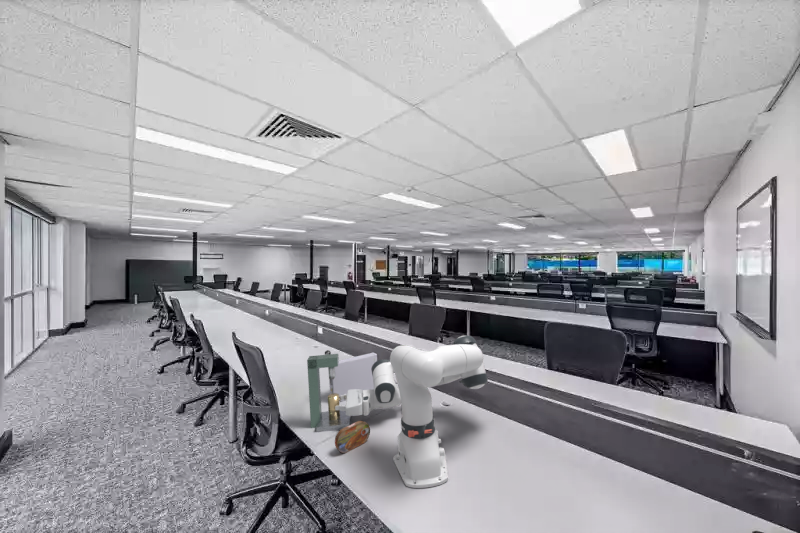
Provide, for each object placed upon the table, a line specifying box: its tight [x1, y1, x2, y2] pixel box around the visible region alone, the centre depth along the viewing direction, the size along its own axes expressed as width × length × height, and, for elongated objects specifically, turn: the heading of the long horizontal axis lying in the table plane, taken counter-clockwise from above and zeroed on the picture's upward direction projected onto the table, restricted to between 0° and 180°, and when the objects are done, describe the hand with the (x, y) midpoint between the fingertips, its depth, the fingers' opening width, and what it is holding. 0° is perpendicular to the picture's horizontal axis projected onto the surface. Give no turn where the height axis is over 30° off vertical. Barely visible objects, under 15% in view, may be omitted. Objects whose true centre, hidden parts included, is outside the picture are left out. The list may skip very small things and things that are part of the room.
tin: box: [334, 420, 371, 454], centre depth 120 cm, size 15×3×8 cm, turn 132°
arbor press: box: [306, 350, 352, 433], centre depth 143 cm, size 21×17×30 cm
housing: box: [327, 393, 340, 420], centre depth 140 cm, size 5×5×10 cm
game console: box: [328, 352, 378, 403], centre depth 169 cm, size 6×27×20 cm, turn 124°
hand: (336, 403), depth 140 cm, fingers open, 8 cm apart
